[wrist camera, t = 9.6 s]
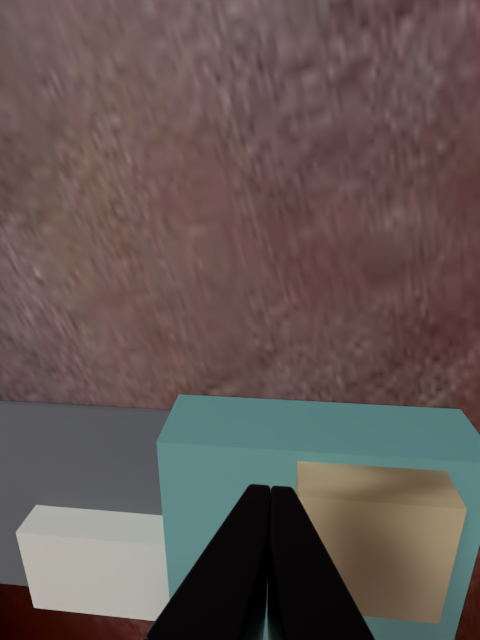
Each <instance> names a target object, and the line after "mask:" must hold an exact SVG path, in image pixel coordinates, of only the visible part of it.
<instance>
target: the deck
mask: <svg viewBox="0 0 480 640" xmlns="http://www.w3.org/2000/svg"><path fill="white" fill-rule="evenodd" d="M156 444H157V456H158V468H159V480H160V492H161V504H162V515H163V527H164V539H165V551H166V563H167V575H168V587H169V599H171V597H172V596H173V594H174V593H175V592H176V590H177V589H178V587H179V586H180V584H181V583H182V581H183V580H184V578H185V577H186V576H187V574H188V573H189V571H190V570H191V568H192V567H193V565H194V564H195V562H196V561H197V559H198V558H199V557H200V555H201V554H202V552H203V551H204V549H205V548H206V546H207V545H208V543H209V542H210V541H211V539H212V538H213V536H214V535H215V533H216V532H217V530H218V529H219V527H220V526H221V525H222V523H223V522H224V520H225V519H226V517H227V516H228V514H229V513H230V511H231V510H232V509H233V507H234V506H235V504H236V503H237V501H238V500H239V498H240V497H241V495H242V494H243V493H244V491H245V490H246V488H247V487H248V486H249V485H250V484H262V485H269V486H270V488H272V486H275V485H276V486H290V487H292V488H293V489H294V490H295V486H296V469H297V461H304V462H319V463H334V464H349V465H363V466H378V467H393V468H408V469H423V470H438V471H447V473H448V475H449V477H450V479H451V480H452V482H453V484H454V486H455V488H456V490H457V492H458V493H459V495H460V497H461V499H462V501H463V503H464V504H465V506H466V508H467V512H466V516H465V520H464V524H463V528H462V532H461V536H460V540H459V545H458V549H457V553H456V557H455V561H454V565H453V569H452V573H451V577H450V581H449V585H448V589H447V594H446V598H445V602H444V606H443V610H442V614H441V618H440V622H439V624H438V623H428V622H418V621H408V620H398V619H388V618H378V617H368V616H363V618H364V619H365V621H366V623H367V625H368V627H369V629H370V631H371V632H372V634H373V636H374V638H375V640H454V638H455V635H456V631H457V627H458V624H459V620H460V616H461V612H462V609H463V605H464V601H465V597H466V594H467V590H468V586H469V583H470V579H471V575H472V571H473V568H474V564H475V560H476V556H477V553H478V549H479V545H480V435H479V434H478V432H477V431H476V430H475V428H474V427H473V425H472V424H471V423H470V421H469V420H468V419H467V417H466V416H465V415H464V413H463V412H462V411H461V409H447V408H428V407H409V406H391V405H372V404H353V403H334V402H315V401H296V400H277V399H258V398H239V397H220V396H201V395H182V394H179V395H178V397H177V399H176V401H175V403H174V406H173V408H172V410H171V412H170V414H169V416H168V418H167V420H166V423H165V425H164V427H163V429H162V431H161V433H160V435H159V437H158V440H157V442H156ZM267 588H268V585H267ZM263 640H268V628H267V607H266V619H265V627H264V635H263Z"/></svg>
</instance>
